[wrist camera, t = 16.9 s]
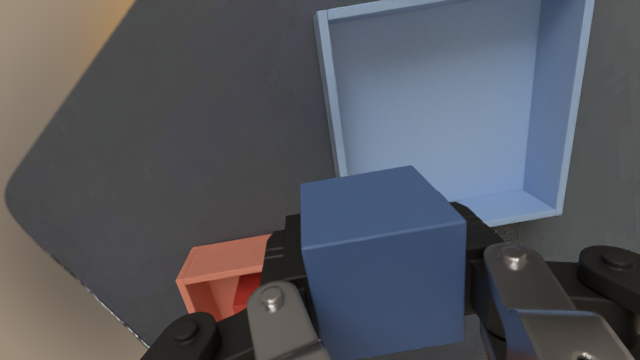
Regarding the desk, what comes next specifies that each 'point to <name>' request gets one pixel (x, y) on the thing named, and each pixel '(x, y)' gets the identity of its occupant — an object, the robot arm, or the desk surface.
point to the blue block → (383, 263)
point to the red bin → (219, 274)
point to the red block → (245, 290)
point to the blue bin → (459, 96)
